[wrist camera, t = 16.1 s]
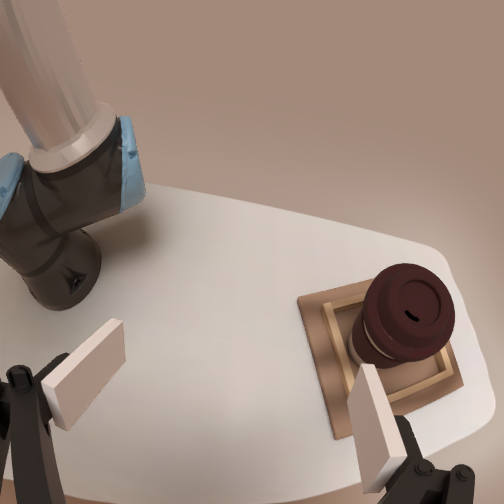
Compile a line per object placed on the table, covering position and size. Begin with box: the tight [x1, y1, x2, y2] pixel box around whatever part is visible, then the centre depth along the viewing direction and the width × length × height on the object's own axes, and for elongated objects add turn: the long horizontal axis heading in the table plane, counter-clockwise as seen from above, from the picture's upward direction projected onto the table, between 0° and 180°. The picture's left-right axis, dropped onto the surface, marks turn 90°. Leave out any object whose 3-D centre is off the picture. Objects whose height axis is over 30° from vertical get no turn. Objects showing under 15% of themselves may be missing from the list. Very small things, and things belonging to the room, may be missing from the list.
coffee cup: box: [348, 263, 455, 371], centre depth 31 cm, size 10×10×15 cm
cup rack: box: [297, 278, 464, 440], centre depth 37 cm, size 20×20×4 cm
